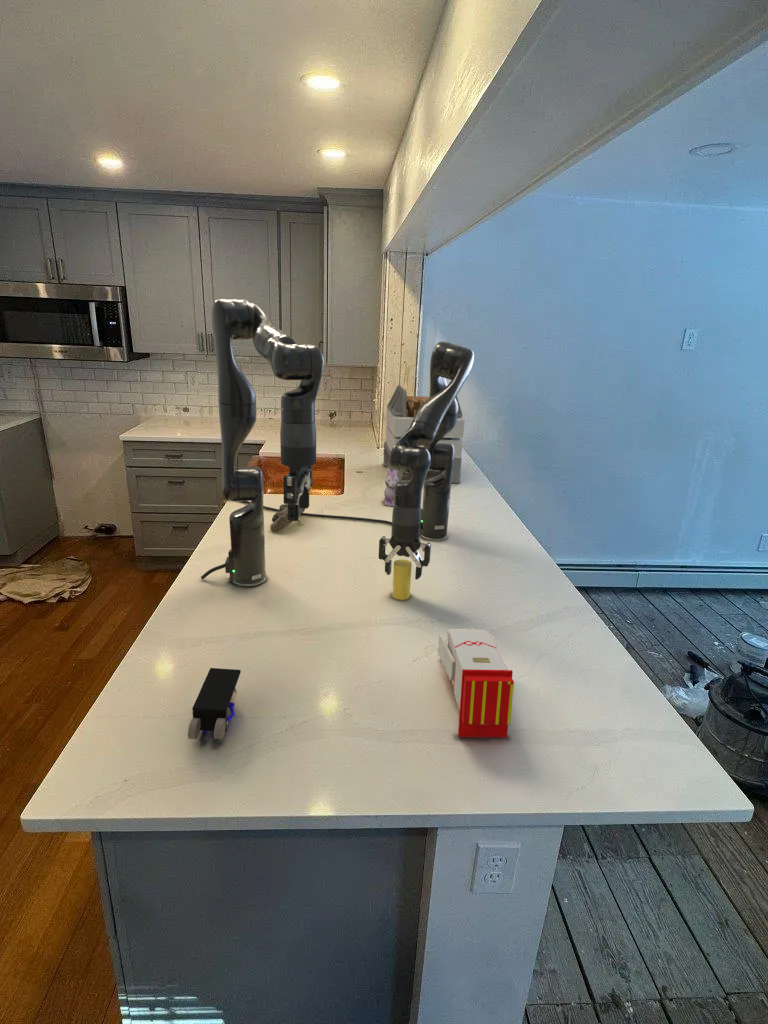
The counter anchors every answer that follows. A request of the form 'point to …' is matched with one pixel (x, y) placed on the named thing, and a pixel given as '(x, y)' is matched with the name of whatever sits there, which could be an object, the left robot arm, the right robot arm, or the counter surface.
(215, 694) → the figurine character
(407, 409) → the grey slatted crate
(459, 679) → the toy
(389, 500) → the figurine
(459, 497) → the counter surface
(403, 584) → the canister
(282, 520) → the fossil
